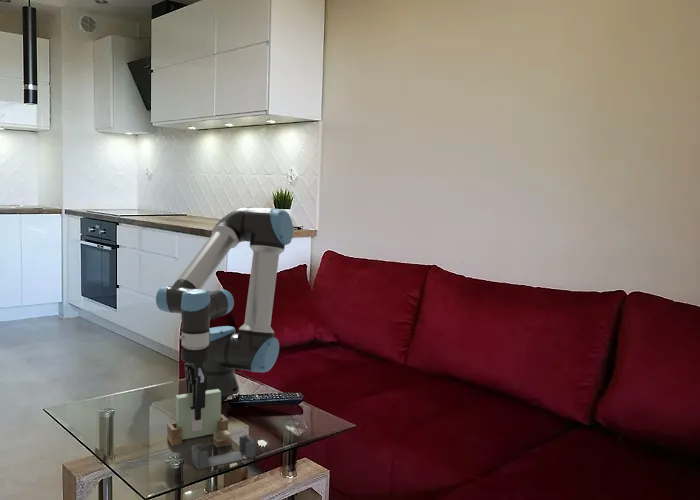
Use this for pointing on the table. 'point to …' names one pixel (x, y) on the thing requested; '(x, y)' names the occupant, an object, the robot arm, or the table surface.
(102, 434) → the table surface
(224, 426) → the rack
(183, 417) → the sheet
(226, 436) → the offcut mdf
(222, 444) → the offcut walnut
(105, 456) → the table surface
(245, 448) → the display stand
